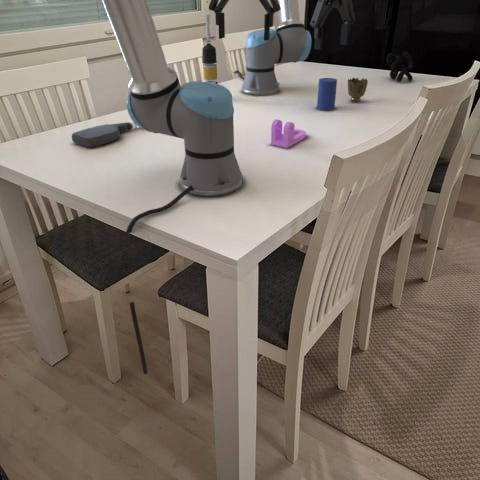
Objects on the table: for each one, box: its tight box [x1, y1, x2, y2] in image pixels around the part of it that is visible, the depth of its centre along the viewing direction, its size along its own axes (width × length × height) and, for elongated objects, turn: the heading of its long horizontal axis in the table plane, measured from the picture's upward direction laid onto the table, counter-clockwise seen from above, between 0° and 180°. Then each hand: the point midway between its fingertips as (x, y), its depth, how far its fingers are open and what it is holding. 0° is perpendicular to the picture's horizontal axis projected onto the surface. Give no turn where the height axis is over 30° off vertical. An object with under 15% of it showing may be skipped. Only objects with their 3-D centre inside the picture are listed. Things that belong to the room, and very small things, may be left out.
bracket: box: [270, 119, 307, 149], centre depth 134 cm, size 13×6×7 cm, turn 143°
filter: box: [201, 14, 219, 84], centre depth 171 cm, size 6×6×30 cm
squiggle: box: [385, 51, 414, 83], centre depth 198 cm, size 11×10×15 cm
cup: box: [347, 77, 369, 103], centre depth 170 cm, size 8×7×8 cm
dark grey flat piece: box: [71, 120, 140, 149], centre depth 142 cm, size 3×11×25 cm
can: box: [316, 77, 338, 112], centre depth 162 cm, size 6×6×10 cm
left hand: (243, 39), depth 127 cm, fingers open, 13 cm apart
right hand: (331, 47), depth 153 cm, fingers open, 13 cm apart
